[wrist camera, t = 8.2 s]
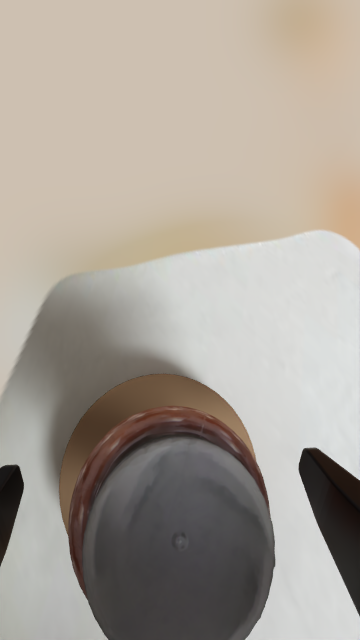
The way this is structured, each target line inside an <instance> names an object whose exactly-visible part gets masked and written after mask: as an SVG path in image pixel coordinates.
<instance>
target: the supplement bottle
mask: <svg viewBox="0 0 360 640" xmlns="http://www.w3.org/2000/svg"><path fill="white" fill-rule="evenodd" d="M68 538H69V547H70V555H71V560H72V565H73V569H74V572H75V575H76V577H77V579H78V582H79V585H80V587H81V589H82V591H83V593H84V595H85V596H86V598H87V600H88V602H89V605H90V607H91V610H92V612H93V615H94V617H95V619H96V621H97V622H98V624H99V626H100V628H101V629H102V631H103V633H104V634H105V636H106V637H107V638H108V640H245V639H246V638H247V637H248V635H249V634H250V632H251V631H252V629H253V627H254V626H255V624H256V623H257V621H258V620H259V619H260V617H261V614H262V612H263V609H264V607H265V604H266V601H267V598H268V595H269V590H270V586H271V582H272V577H273V569H274V567H275V554H274V547H275V540H274V532H273V524H272V521H271V518H270V509H269V501H268V496H267V491H266V487H265V484H264V480H263V477H262V474H261V471H260V469H259V466H258V465H257V462H256V460H255V458H254V457H253V455H252V454H251V452H250V450H249V449H248V447H247V446H246V444H245V443H244V442H243V440H241V438H240V437H239V436H238V435H237V434H236V433H235V432H234V431H233V430H232V429H231V428H229V427H228V426H227V425H226V424H224V423H223V422H222V421H220V420H219V419H217V418H216V417H214V416H212V415H210V414H207V413H205V412H203V411H200V410H197V409H193V408H189V407H183V406H162V407H156V408H152V409H148V410H145V411H142V412H139V413H137V414H135V415H132V416H130V417H128V418H127V419H125V420H123V421H122V422H120V423H119V424H117V425H116V426H115V427H113V428H112V429H111V430H110V431H109V432H108V433H107V434H106V435H105V436H104V437H103V438H102V439H101V440H100V442H99V443H98V444H97V445H96V446H95V448H94V449H93V450H92V452H91V453H90V455H89V457H88V458H87V460H86V461H85V463H84V465H83V467H82V468H81V471H80V474H79V476H78V478H77V481H76V484H75V488H74V491H73V494H72V499H71V504H70V511H69V524H68Z"/></svg>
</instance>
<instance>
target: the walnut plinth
mask: <svg viewBox="0 0 360 640" xmlns="http://www.w3.org/2000/svg"><path fill="white" fill-rule="evenodd" d="M162 406H183V407H189V408H193V409H197V410H200V411H203V412H205V413H207V414H210V415H212V416H214V417H216V418H217V419H219V420H220V421H222V422H223V423H224V424H226V425H227V426H228V427H229V428H231V429H232V430H233V431H234V432H235V433H236V434H237V435H238V436H239V437H240V438H241V440H243V442H244V443H245V444H246V446H247V447H248V449H249V450H250V452H251V454H252V455H253V457H254V458H255V454H254V450H253V446H252V443H251V440H250V438H249V435H248V433H247V430H246V429H245V427H244V425H243V423H242V421H241V419H240V418H239V417H238V415H237V414H236V412H235V411H234V409H233V408H232V407H231V406H230V405H229V404H228V403H227V402H226V401H225V400H224V399H223V398H222V397H221V396H220V395H219V394H218V393H216V392H215V391H213V390H212V389H210V388H209V387H207V386H206V385H204V384H202V383H200V382H198V381H195V380H193V379H190V378H187V377H183V376H178V375H171V374H151V375H146V376H141V377H137V378H134V379H131V380H128V381H126V382H124V383H122V384H120V385H118V386H116V387H114V388H113V389H111V390H110V391H108V392H107V393H105V394H104V395H103V396H102V397H101V398H99V399H98V400H97V401H96V402H95V403H94V404H93V405H92V406H91V407H90V408H89V409H88V411H87V412H86V413H85V414H84V416H83V417H82V418H81V420H80V421H79V423H78V425H77V426H76V428H75V430H74V431H73V433H72V436H71V438H70V440H69V442H68V445H67V448H66V451H65V454H64V457H63V462H62V467H61V472H60V484H59V495H60V507H61V513H62V518H63V522H64V525H65V528H66V531H67V534H68V524H69V511H70V504H71V499H72V494H73V491H74V488H75V484H76V481H77V478H78V476H79V474H80V471H81V468H82V467H83V465H84V463H85V461H86V460H87V458H88V457H89V455H90V453H91V452H92V450H93V449H94V448H95V446H96V445H97V444H98V443H99V442H100V440H101V439H102V438H103V437H104V436H105V435H106V434H107V433H108V432H109V431H110V430H111V429H112V428H113V427H115V426H116V425H117V424H119V423H120V422H122V421H123V420H125V419H127V418H128V417H130V416H132V415H135V414H137V413H139V412H142V411H145V410H148V409H152V408H156V407H162ZM255 460H256V458H255Z"/></svg>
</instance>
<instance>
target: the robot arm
mask: <svg viewBox="0 0 360 640" xmlns="http://www.w3.org/2000/svg"><path fill="white" fill-rule="evenodd" d="M299 473H300V476H301V479H302V482H303V485H304V488H305V490H306V493H307V496H308V499H309V502H310V505H311V507H312V510H313V513H314V516H315V519H316V521H317V524H318V526H319V528H320V531H321V533H322V535H323V537H324V539H325V542H326V544H327V546H328V548H329V550H330V552H331V555H332V557H333V559H334V561H335V563H336V566H337V568H338V570H339V572H340V574H341V576H342V579H343V581H344V583H345V585H346V587H347V590H348V592H349V594H350V596H351V598H352V600H353V603H354V605H355V607H356V609H357V611H358V614H359V616H360V480H358V479H357V478H356V477H354V476H353V475H352V474H350V473H349V472H348V471H347V470H345V469H344V468H343V467H341V466H340V465H339V464H337V463H336V462H335V461H333V460H332V459H331V458H329V457H328V456H327V455H326V454H324V453H323V452H322V451H320V450H319V449H317V448H304V449H303V451H302V455H301V459H300V462H299ZM23 489H24V482H23V478H22V475H21V471H20V468H19V466H18V465H5V466H3V467H1V468H0V566H1V563H2V561H3V558H4V555H5V553H6V550H7V547H8V543H9V540H10V537H11V533H12V529H13V526H14V522H15V519H16V515H17V512H18V508H19V505H20V501H21V497H22V494H23Z"/></svg>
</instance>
